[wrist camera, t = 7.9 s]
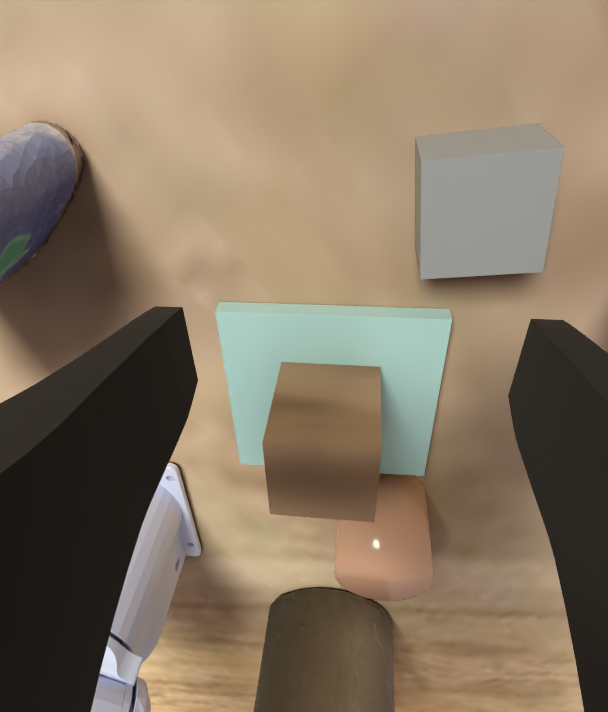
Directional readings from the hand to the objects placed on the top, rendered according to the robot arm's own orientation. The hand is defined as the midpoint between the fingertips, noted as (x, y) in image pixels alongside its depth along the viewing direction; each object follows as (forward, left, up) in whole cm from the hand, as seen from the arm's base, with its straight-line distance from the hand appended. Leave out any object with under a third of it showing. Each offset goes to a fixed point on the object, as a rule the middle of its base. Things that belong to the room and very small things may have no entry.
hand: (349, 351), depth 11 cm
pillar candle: (-34, +1, -10) cm, 35 cm away
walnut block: (-10, +1, -9) cm, 13 cm away
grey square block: (0, -4, -10) cm, 11 cm away
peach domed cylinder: (-18, -2, -10) cm, 21 cm away
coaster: (-10, +1, -10) cm, 14 cm away
